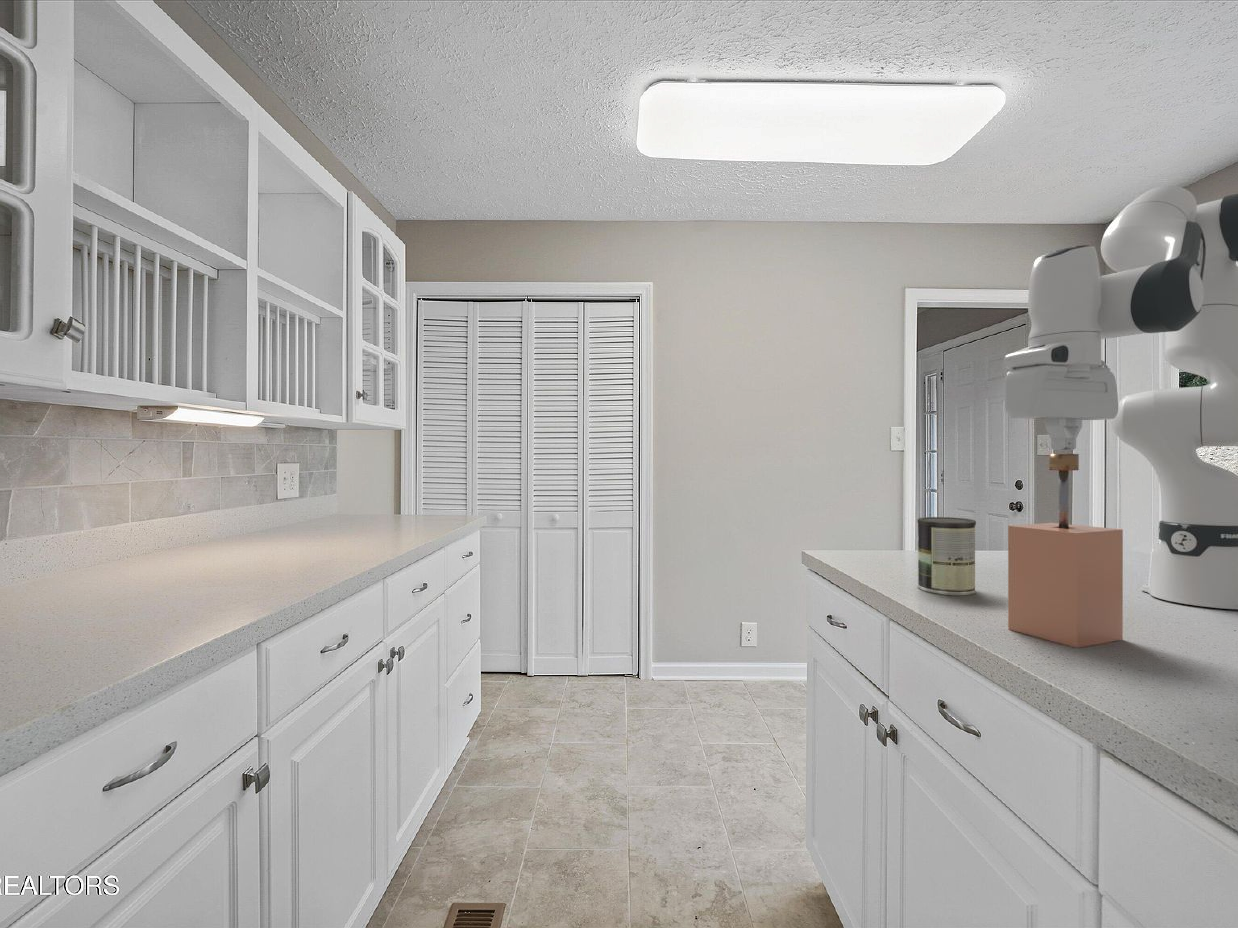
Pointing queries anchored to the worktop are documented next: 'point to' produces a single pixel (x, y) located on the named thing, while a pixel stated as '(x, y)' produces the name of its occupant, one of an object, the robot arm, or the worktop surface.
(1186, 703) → the worktop surface
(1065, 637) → the block
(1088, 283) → the robot arm
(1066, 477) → the plunger
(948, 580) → the coffee can
